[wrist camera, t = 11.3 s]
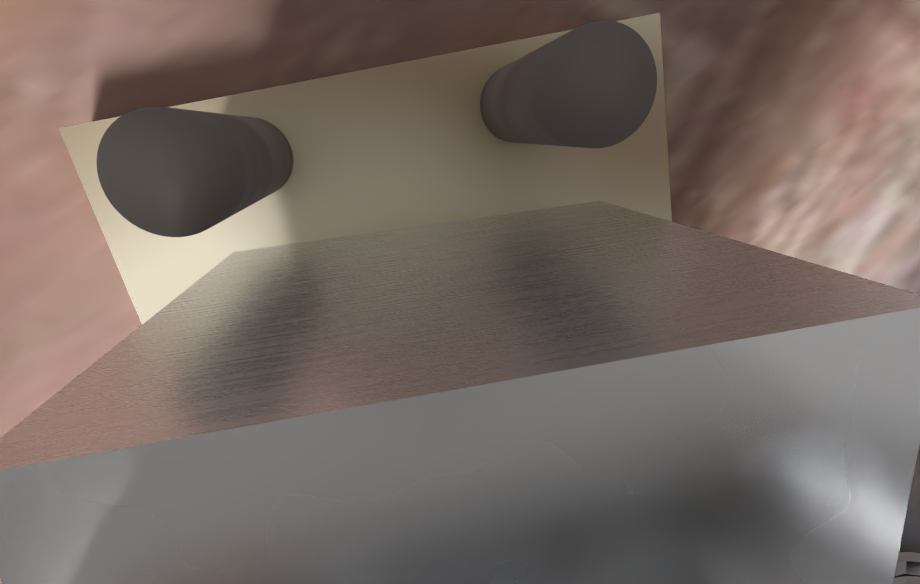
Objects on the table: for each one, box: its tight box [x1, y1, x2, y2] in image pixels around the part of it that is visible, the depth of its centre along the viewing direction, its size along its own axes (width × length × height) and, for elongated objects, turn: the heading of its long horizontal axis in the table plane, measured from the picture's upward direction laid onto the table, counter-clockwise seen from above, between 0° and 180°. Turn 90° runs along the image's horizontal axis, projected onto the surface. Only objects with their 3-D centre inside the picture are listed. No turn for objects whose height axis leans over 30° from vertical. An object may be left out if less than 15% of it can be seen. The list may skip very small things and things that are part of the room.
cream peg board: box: [59, 13, 672, 325], centre depth 10 cm, size 16×11×5 cm
